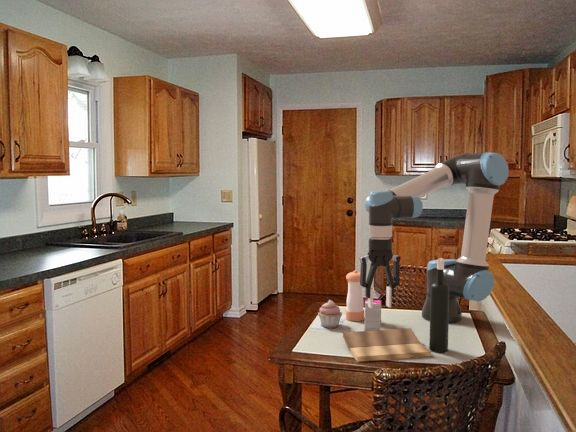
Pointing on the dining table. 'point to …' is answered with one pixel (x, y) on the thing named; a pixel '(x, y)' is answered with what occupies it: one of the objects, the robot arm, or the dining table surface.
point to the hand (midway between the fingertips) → (379, 306)
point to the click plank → (379, 338)
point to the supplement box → (373, 316)
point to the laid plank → (389, 352)
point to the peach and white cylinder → (354, 298)
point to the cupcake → (330, 315)
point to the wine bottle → (439, 312)
